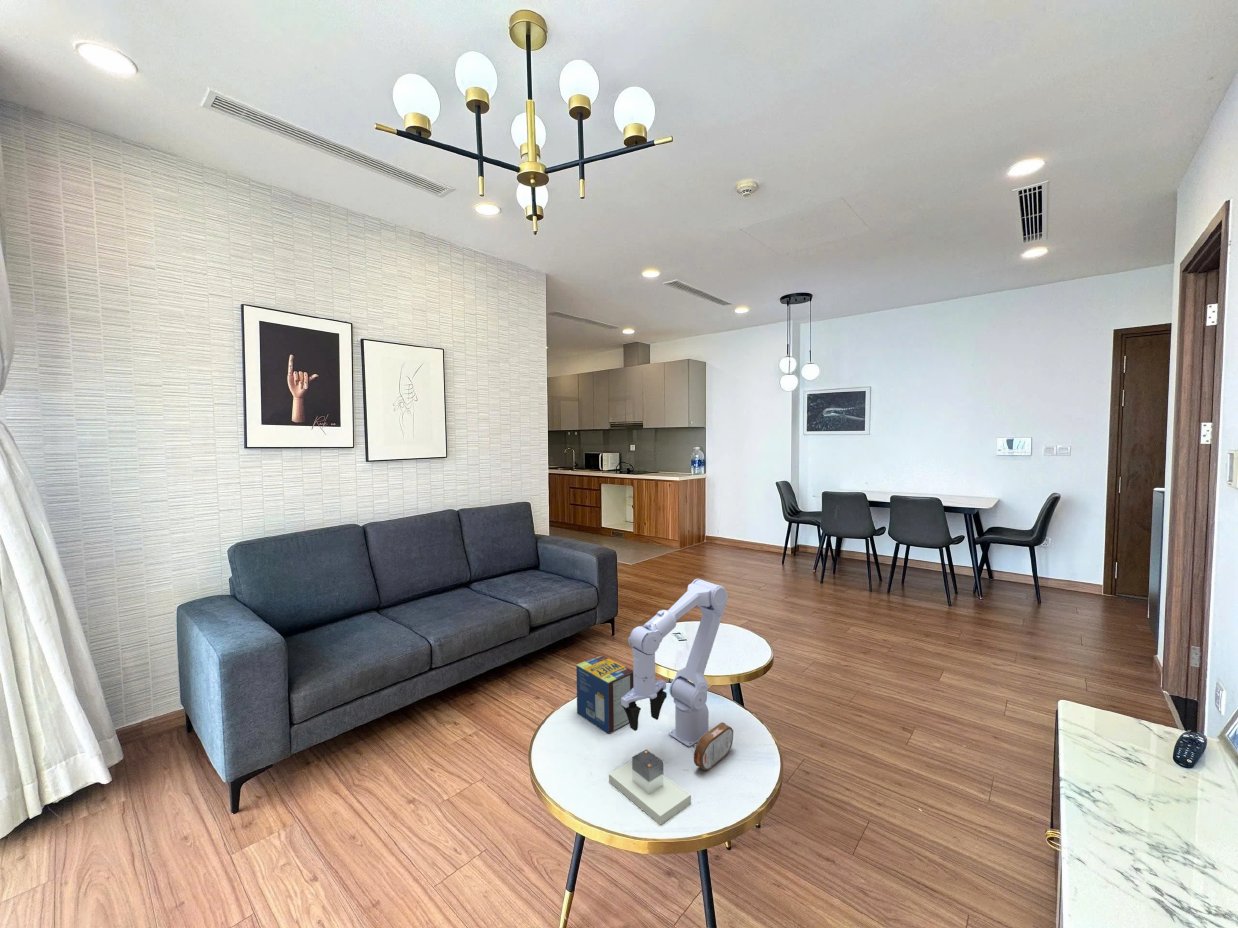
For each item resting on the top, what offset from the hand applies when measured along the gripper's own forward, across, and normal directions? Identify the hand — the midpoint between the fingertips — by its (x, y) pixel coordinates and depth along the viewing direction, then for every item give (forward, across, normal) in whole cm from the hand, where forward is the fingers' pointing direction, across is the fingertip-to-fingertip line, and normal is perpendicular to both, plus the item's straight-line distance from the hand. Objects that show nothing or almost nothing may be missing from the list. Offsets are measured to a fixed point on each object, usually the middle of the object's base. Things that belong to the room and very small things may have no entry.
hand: (644, 723), depth 132 cm
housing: (+7, -8, -10) cm, 15 cm away
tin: (+10, +13, -13) cm, 21 cm away
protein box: (+10, +4, +22) cm, 24 cm away
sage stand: (+9, -8, -10) cm, 16 cm away
